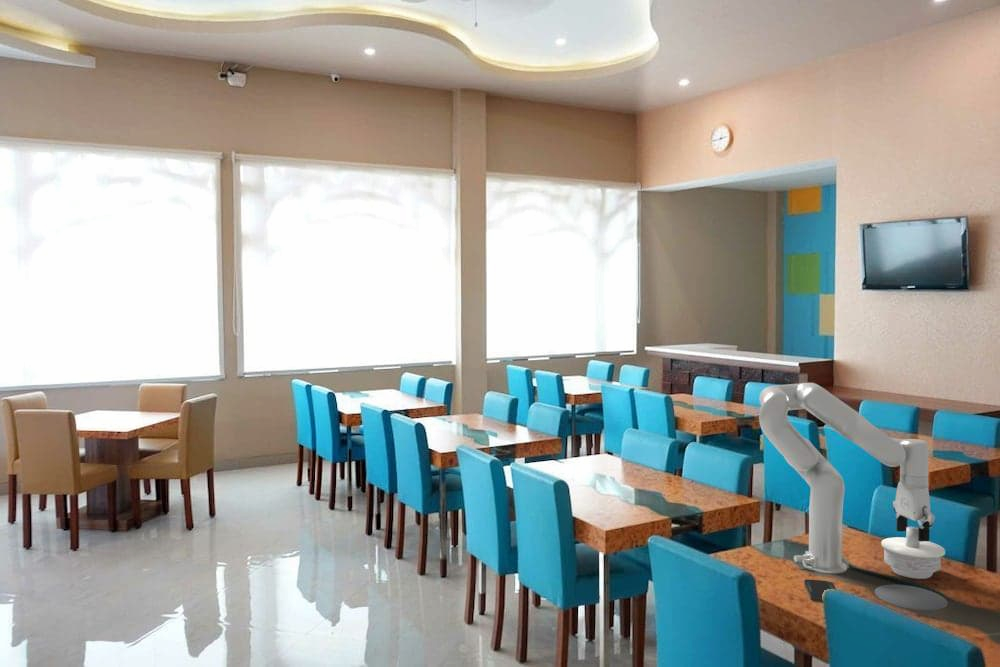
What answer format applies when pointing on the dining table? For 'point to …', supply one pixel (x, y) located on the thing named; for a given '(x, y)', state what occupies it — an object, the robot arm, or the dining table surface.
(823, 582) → the phone
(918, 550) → the lid
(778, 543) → the dining table surface
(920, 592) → the mat
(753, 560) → the dining table surface
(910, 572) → the paper bowls
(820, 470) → the robot arm
